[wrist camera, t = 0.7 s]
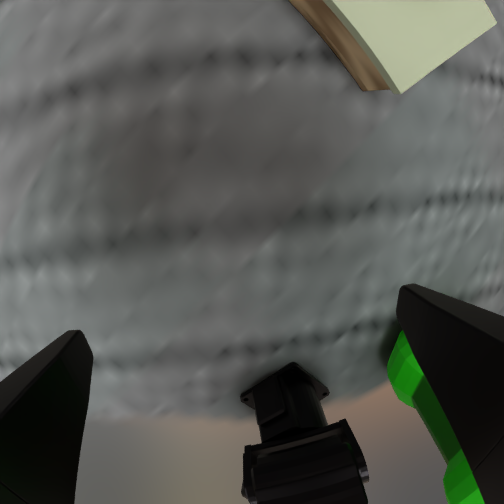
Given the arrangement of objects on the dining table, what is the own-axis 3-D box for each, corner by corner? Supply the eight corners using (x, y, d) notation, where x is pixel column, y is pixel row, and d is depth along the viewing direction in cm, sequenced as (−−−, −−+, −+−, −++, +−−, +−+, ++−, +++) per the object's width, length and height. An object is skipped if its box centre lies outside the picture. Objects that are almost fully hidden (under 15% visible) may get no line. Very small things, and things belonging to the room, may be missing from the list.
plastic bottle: (449, 351, 30) (556, 513, 7) (369, 385, 30) (460, 585, 7) (463, 279, 26) (623, 461, 3) (371, 314, 26) (519, 574, 3)
